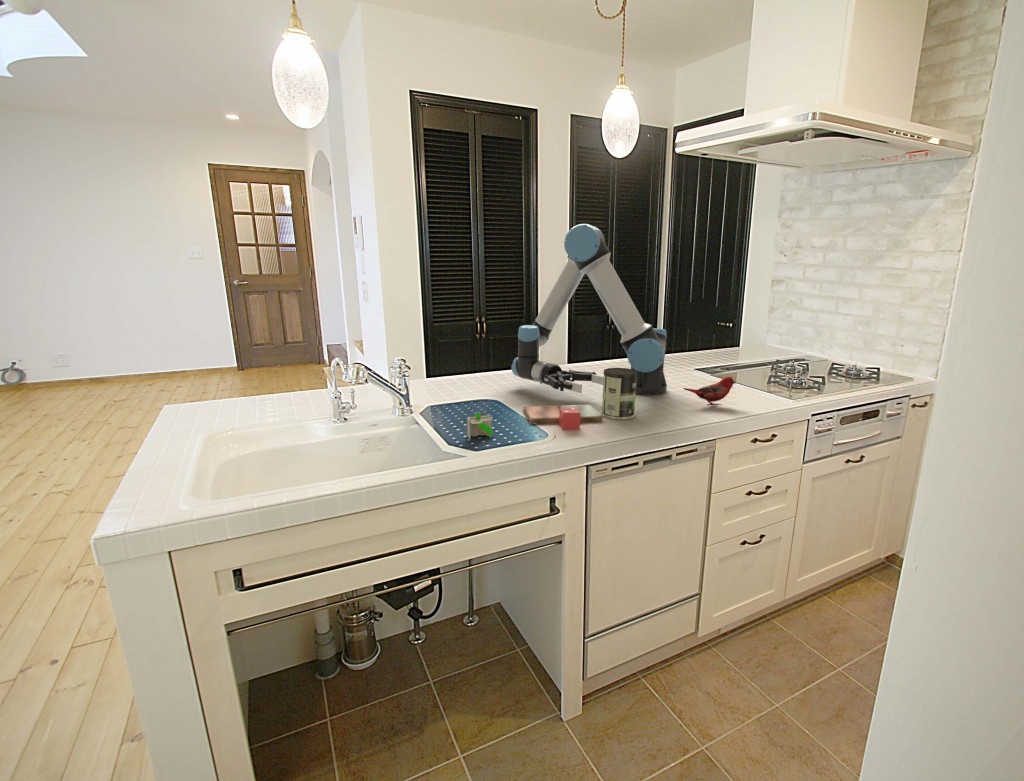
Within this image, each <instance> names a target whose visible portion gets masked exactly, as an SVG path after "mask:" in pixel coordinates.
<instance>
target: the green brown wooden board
mask: <svg viewBox="0 0 1024 781" xmlns="http://www.w3.org/2000/svg"><path fill="white" fill-rule="evenodd" d="M560 408H577V409H578V410H579V411H580V424H581V423H603V417H604V416H603V415H602V414H601V413H599V411H598V410H596V408H594V406H592V404H571V405H569V404H568V405H566V404H565V405H564V404H562V405H538V406H537V405H533V406H528V405H527V406H523V413H524V415H525V417H526V419H527V418H528V419H527V420H529V421H528V423H529V422H530V423H537V424H536V425H551V424H553V425H554V424H559V410H560ZM530 423H529V424H530Z"/></svg>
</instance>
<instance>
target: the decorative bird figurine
mask: <svg viewBox="0 0 1024 781" xmlns="http://www.w3.org/2000/svg"><path fill="white" fill-rule="evenodd" d="M735 384H736V381H735V380H734V379H733V377H731V376H727V377H724V378H722V379H721V380H720V381H717V382H716V383H713V384H709V385H705V386H702V387H701V388H698V389H693V388H689V387H688V388H686V387H683V388H682V389H683V390H685V391H688V392H691V393H694V394H695V395H696V396H697V397H698V398H699V399H702V400H704V401H707V404H706V406H708V405H712V406H713V405H717V406H722V404H721V403H719V404H718V403H715V402H718V401H721V400H722V399H724V398H725V397H727V396H728V394H729V393H730V391H731V389H732V388H733V386H734V385H735ZM713 402H714V403H713Z"/></svg>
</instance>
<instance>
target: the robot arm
mask: <svg viewBox="0 0 1024 781" xmlns="http://www.w3.org/2000/svg"><path fill="white" fill-rule="evenodd" d="M563 244H564V246H563V247H564V250H565V253H566V254H567V256H566V258H567V262H566V263H565V266H564V268H563V270H562V271H561V272H560V274H559V276H558V278H557V280H556V282H555V283H554V285H553V287H552V289H551V291H550V292H549V294H548V297H547V298H546V300H545V302H544V304H543V306H542V307H541V309H540V311H539V312H538V314H537V316H536V318H535V319H534V322H533V323H532V325H531V324H525V325H520V326H519V327H518V332H517V339H518V342H517V345H518V346H517V349H518V350H517V357H515V358H514V359H513V361H512V364H511V372H512V374H513V375H514V376H515V377H519V378H521V379H523V380H529V381H533V382H536V383H539V384H540V385H543V384H544V385H547V386H550V387H551V388H553V389H554V390H559V391H560V392H564V391H565V390H567V391H571V392H575V393H578V394H579V393H580V394H582V392H583V390H582V389H583V383H582V384H581V383H578V382H591V383H594V384H597V385H602V386H603V381H604V375H598V374H597V372H596V371H581V370H573V369H569V370H565V369H564V370H562V368H561V366H560V365H558V364H554V363H552V362H551V363H550V362H547V361H542V360H540V359H539V357H540V354H539V353H540V347H541V346H544V345H545V344H546V343H547V342H548V340H549V339H550V335H551V333H552V332H553V329H554V328H555V327H556V324H557V322H558V321H559V319H560V318H561V316H562V314H563V312H564V311H565V310H566V309H565V308H566V307H567V305H568V304H569V301H570V300H571V298H572V296H574V293H575V292H576V290H577V288H578V286H579V285H580V282H581V281H582V280H583V277H584V276H585V275H587V277H588V279H589V281H590V282H591V284H592V286H593V287H594V289H595V291H596V293H597V294H598V296H599V298H600V299H601V300H600V301H601V302H602V303H603V305H604V307H605V309H606V310H607V313H608V314H609V316H610V317H611V319H612V321H613V323H614V325H615V326H616V329H617V330H618V332H619V334H620V335H621V338H620V341H619V342H620V344H621V346H622V348H623V349H624V351H625V354H626V356H627V361H628V363H629V364H630V369H633V370H636V371H637V372H638V374H637V382H636V393H639V394H638V395H643V394H650V395H649V396H653V395H654V394H658V395H663V394H665V393H667V391H668V389H667V388H668V384H667V381H666V376H665V372H664V367H665V357H666V342H667V337H668V336H667V330H666V329H664V328H654V327H653V325H652V324H651V323H646V322H645V321H644V319H643V317H642V315H641V313H640V311H639V310H638V309H637V307H636V305H635V303H634V301H633V300H632V298H631V296H630V294H629V293H628V291H627V289H626V287H625V286H624V283H623V282H622V280H621V279H620V276H619V275H618V272H617V271H616V270H615V267H614V266H613V264H612V263H611V261H610V260H611V259H610V258H611V254H612V252H611V251H610V249H609V248H608V246H607V244H606V238H605V235H604V233H603V232H602V230H600V229H599V228H598V227H597V226H594V225H592V224H589V223H580V224H577V225H575V226H573V227H572V228H570V230H568V232H567V233H566V235H565V238H564V243H563ZM574 381H577V382H574ZM662 393H663V394H662ZM654 396H655V395H654Z"/></svg>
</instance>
